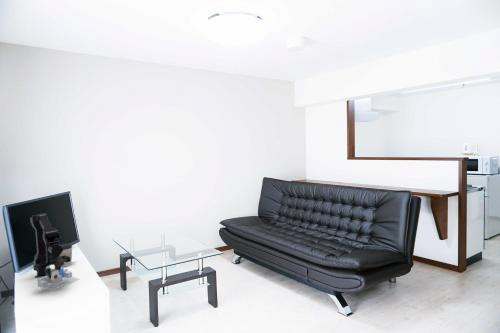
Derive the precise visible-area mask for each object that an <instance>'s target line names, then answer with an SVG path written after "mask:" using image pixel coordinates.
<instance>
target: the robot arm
mask: <svg viewBox="0 0 500 333" xmlns="http://www.w3.org/2000/svg"><path fill="white" fill-rule="evenodd" d="M29 220H30V224H31V226H32V228H33V229H34V230H35V232H34V233H35V241H36V253H35V255H34V259H33V262H32V268H33V271H36V275H34V278H36V279H38V278H42V277H45V276H46V274H47V276H48V277H49V279H51V271H50V270H52V268H51V267H50V266H54V269H57V270H58V271H60V269H61V268H63V267H62V266H63V265H64V264H65V263H64V262H66V263H67V262H69V261H71V262H72V259H71V258H70V257H69V256H66V255H64V256H60V254H61V253H62V251H63V248H62V247H61V246H60V245H59V243H62V237H61V233H60V232H59V230H58V229H57V228H56V227H54V226H52V224H51V222H50V220H49V218H48V214H47V213H45V212H44V213H38V214H35V215H32V216H31V217H30V218H29Z"/></svg>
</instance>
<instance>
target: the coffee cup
mask: <svg viewBox="0 0 500 333" xmlns="http://www.w3.org/2000/svg"><path fill="white" fill-rule="evenodd" d="M58 244H59V243H58ZM59 245H60V246H61V247H62V248H63V251H62V253H61V254H60V256H64V255H66V256H69V257H70V258H71V261H69V262H67V263H66V262H64V263H65V264H64V265H63V266H62V267H61V268H68V267H71V266H72V258H73V246H72V244H71V243H69V242H68V243H67V242H66V243H60V244H59Z"/></svg>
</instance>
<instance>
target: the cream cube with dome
mask: <svg viewBox="0 0 500 333" xmlns="http://www.w3.org/2000/svg"><path fill="white" fill-rule="evenodd" d="M50 271H51V279H52V280H53V279H56V278H58V277H59V271H58V270H57V269H55V268H51V270H50ZM46 276H47V274H46ZM48 278H49V277H48Z"/></svg>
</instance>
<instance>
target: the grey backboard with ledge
mask: <svg viewBox="0 0 500 333" xmlns="http://www.w3.org/2000/svg"><path fill="white" fill-rule="evenodd" d="M36 279H37V286H38V287H40V288H42V289H45V290H48V291H51V292H53V291H56V290H57V289H60V288H62V287H65V286H67V285H71V284H73V283H75V282H77V281H79V280H81V278H78V277H75V276H73V272H72V271H70V270H69V269H68V268H64V267H61V269H60V271H59V277H58V278H56V279H53V280H52V279H49V278H48V276H44V277H42V276H41V277H38V278H36Z"/></svg>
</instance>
